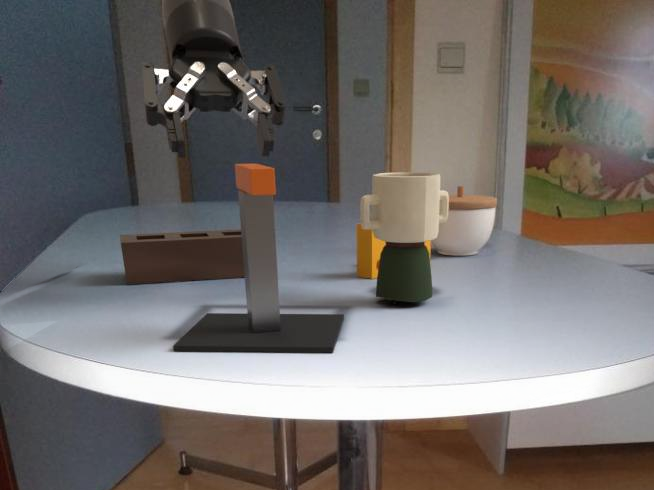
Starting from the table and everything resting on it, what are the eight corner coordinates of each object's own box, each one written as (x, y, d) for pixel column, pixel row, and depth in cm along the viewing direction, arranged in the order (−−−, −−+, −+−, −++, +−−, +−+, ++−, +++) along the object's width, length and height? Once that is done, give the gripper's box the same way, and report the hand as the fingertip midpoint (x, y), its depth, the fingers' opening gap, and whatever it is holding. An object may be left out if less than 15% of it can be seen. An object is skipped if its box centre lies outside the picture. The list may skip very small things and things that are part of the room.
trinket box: (508, 254, 108) (513, 186, 104) (452, 260, 103) (455, 190, 99) (462, 245, 116) (466, 182, 112) (408, 251, 111) (409, 185, 107)
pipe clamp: (405, 262, 102) (406, 214, 99) (430, 266, 99) (431, 216, 96) (347, 274, 94) (346, 222, 91) (371, 279, 91) (371, 225, 88)
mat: (173, 351, 63) (172, 345, 63) (207, 318, 73) (207, 313, 73) (333, 352, 62) (332, 347, 62) (344, 319, 73) (344, 314, 73)
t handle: (243, 320, 71) (231, 164, 64) (269, 317, 71) (260, 163, 65) (258, 340, 64) (246, 168, 58) (287, 338, 64) (278, 168, 58)
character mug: (425, 290, 85) (429, 170, 79) (463, 302, 79) (470, 173, 73) (345, 301, 80) (342, 174, 74) (379, 314, 74) (379, 178, 69)
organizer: (125, 274, 95) (119, 234, 93) (261, 266, 100) (259, 228, 98) (127, 285, 89) (120, 242, 87) (272, 275, 94) (270, 235, 91)
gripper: (128, -7, 72) (149, 122, 67) (269, -1, 76) (298, 121, 71) (134, 59, 79) (154, 179, 74) (263, 62, 83) (289, 176, 78)
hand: (225, 151), depth 73 cm, fingers open, 8 cm apart
